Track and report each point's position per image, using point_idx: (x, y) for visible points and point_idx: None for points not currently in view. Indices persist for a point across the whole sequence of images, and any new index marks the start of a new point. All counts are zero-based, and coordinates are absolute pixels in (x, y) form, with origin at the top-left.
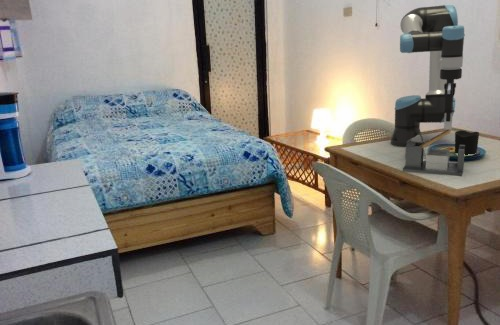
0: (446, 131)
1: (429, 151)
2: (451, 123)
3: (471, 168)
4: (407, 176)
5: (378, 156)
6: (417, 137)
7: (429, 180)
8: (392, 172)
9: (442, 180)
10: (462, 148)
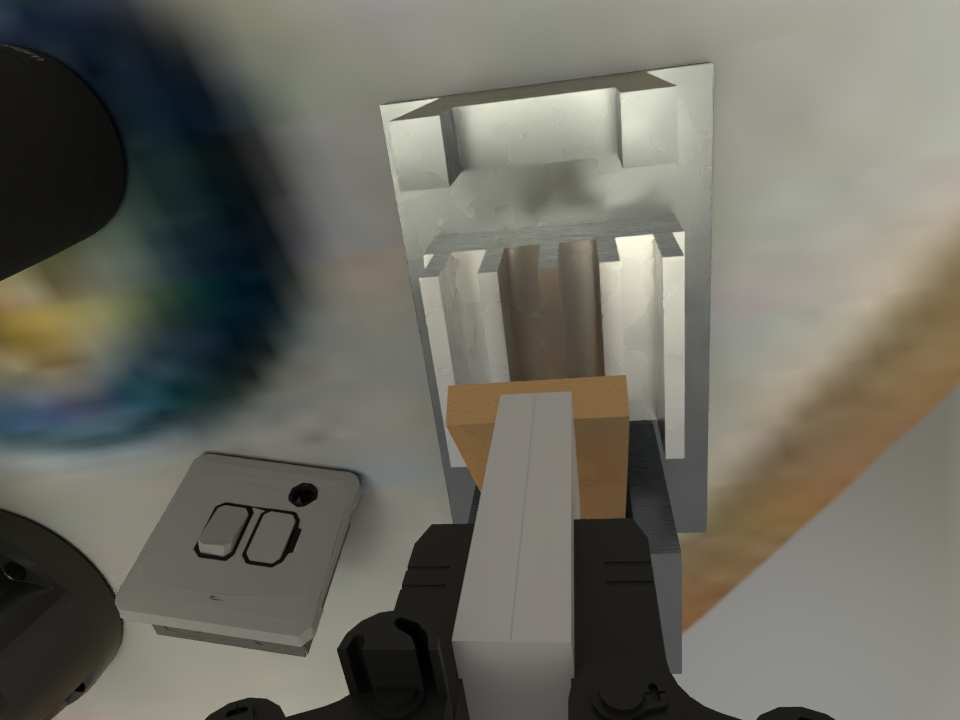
0: (584, 438)
1: None
2: (569, 458)
3: (440, 16)
4: (820, 473)
5: None
6: (200, 610)
7: (899, 310)
8: (743, 573)
9: (881, 210)
10: (451, 139)
